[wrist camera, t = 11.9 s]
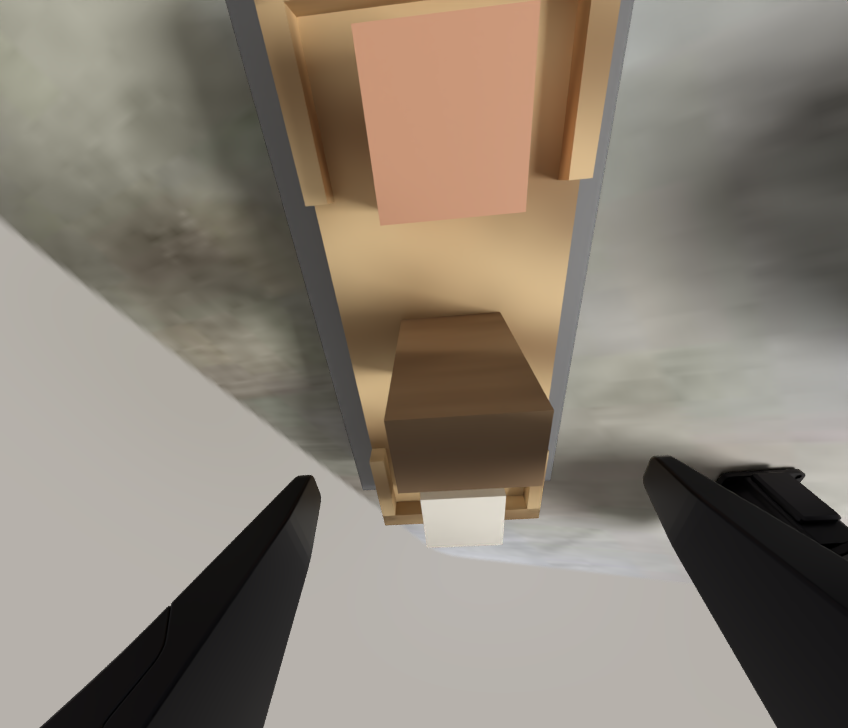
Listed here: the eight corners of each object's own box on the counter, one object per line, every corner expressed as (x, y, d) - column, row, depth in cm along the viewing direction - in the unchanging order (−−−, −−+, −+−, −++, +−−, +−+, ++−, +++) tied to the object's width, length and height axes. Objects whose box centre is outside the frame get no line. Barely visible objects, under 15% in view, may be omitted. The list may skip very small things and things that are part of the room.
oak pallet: (525, 477, 23) (576, 633, 15) (390, 484, 24) (371, 639, 16) (582, -32, 10) (1070, -686, 3) (287, 6, 11) (-76, -441, 3)
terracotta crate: (497, 202, 12) (525, 211, 9) (393, 212, 12) (380, 225, 9) (501, 60, 10) (540, -1, 7) (376, 75, 10) (351, 23, 7)
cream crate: (489, 482, 20) (502, 545, 17) (426, 485, 20) (426, 547, 17) (490, 435, 18) (506, 496, 15) (421, 439, 18) (420, 499, 15)
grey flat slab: (537, 450, 26) (550, 480, 23) (369, 459, 27) (363, 490, 24) (600, -16, 13) (645, -65, 10) (262, 27, 13) (222, -9, 11)
